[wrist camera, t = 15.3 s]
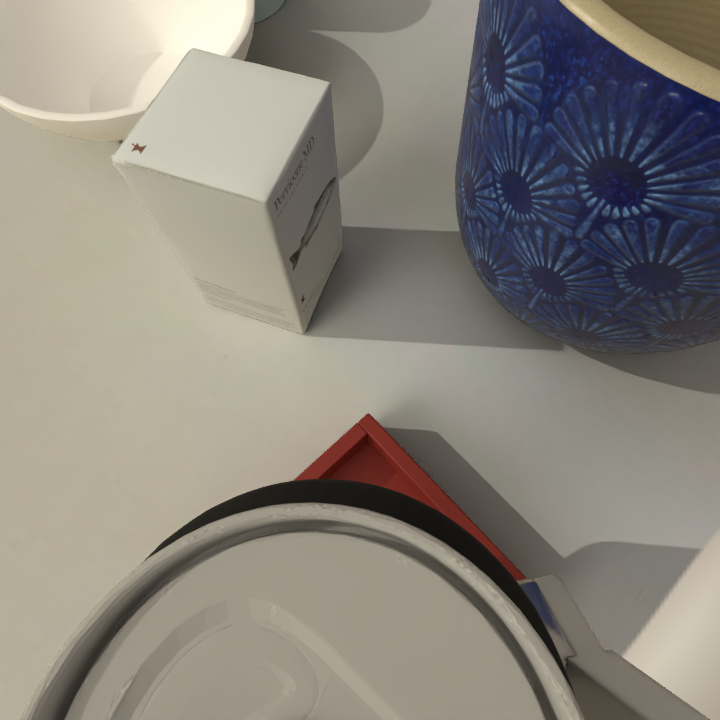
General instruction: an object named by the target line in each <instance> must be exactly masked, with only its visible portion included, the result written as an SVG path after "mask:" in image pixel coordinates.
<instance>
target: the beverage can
mask: <svg viewBox="0 0 720 720" xmlns="http://www.w3.org/2000/svg"><path fill="white" fill-rule="evenodd" d="M20 720H585V719H584V717H583V715H582V712H581V710H580V708H579V706H578V703H577V701H576V698H575V695H574V691H573V688H572V686H571V683H570V680H569V678H568V675H567V672H566V670H565V667H564V665H563V663H562V660H561V658H560V655H559V653H558V651H557V649H556V646H555V644H554V642H553V640H552V638H551V636H550V634H549V632H548V630H547V628H546V627H545V625H544V623H543V621H542V619H541V617H540V615H539V614H538V612H537V610H536V608H535V606H534V605H533V604H532V602H531V601H530V599H529V598H528V597H527V595H526V594H525V592H524V591H523V589H522V588H521V587H520V585H519V584H518V582H517V581H516V580H515V578H514V577H513V576H512V575H511V574H510V572H509V571H508V570H507V569H506V568H505V567H504V566H503V565H502V563H501V562H500V561H499V560H498V559H497V558H496V557H495V556H494V555H493V554H492V553H491V552H490V551H489V550H488V549H487V548H486V547H485V546H484V545H483V544H482V543H481V542H479V541H478V540H477V539H476V538H475V537H474V536H473V535H471V534H470V533H469V532H468V531H466V530H465V529H464V528H463V527H461V526H460V525H459V524H457V523H456V522H454V521H453V520H451V519H450V518H449V517H447V516H446V515H444V514H442V513H441V512H439V511H438V510H436V509H434V508H432V507H430V506H428V505H426V504H424V503H423V502H421V501H418V500H416V499H414V498H412V497H410V496H407V495H405V494H402V493H400V492H397V491H394V490H391V489H387V488H384V487H381V486H377V485H373V484H368V483H363V482H356V481H350V480H339V479H306V480H297V481H290V482H284V483H278V484H274V485H270V486H266V487H262V488H259V489H256V490H253V491H250V492H247V493H244V494H242V495H239V496H237V497H234V498H232V499H230V500H228V501H225V502H223V503H221V504H219V505H217V506H215V507H213V508H211V509H209V510H207V511H206V512H204V513H203V514H201V515H200V516H198V517H196V518H195V519H193V520H192V521H190V522H189V523H188V524H186V525H185V526H183V527H182V528H181V529H179V530H178V531H177V532H175V533H174V534H173V535H171V536H170V537H169V538H167V539H166V540H165V541H164V542H162V543H161V544H160V545H159V546H158V547H157V548H156V549H155V550H154V551H153V552H152V553H151V554H150V555H149V556H148V557H147V558H146V559H145V561H144V562H143V563H142V564H141V565H140V566H138V567H137V568H136V569H135V570H134V571H133V572H132V573H130V574H129V575H128V576H127V577H126V578H125V579H124V580H123V581H121V582H120V583H119V584H118V585H117V586H116V587H115V588H114V589H112V590H111V591H110V592H109V593H108V594H107V595H106V596H105V597H104V598H103V599H102V600H101V601H100V602H99V603H98V604H97V605H96V607H95V608H94V609H93V610H92V611H91V612H90V613H89V614H88V615H87V617H86V618H85V619H84V620H83V621H82V623H81V624H80V625H79V626H78V628H77V629H76V630H75V631H74V633H73V634H72V635H71V636H70V638H69V639H68V640H67V641H66V643H65V644H64V645H63V647H62V648H61V650H60V651H59V653H58V654H57V656H56V657H55V659H54V660H53V662H52V663H51V665H50V666H49V668H48V669H47V671H46V672H45V674H44V676H43V678H42V679H41V681H40V683H39V684H38V686H37V688H36V689H35V691H34V693H33V694H32V696H31V698H30V700H29V702H28V704H27V706H26V708H25V711H24V713H23V715H22V717H21V719H20Z"/></svg>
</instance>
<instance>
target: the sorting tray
mask: <svg viewBox="0 0 720 720" xmlns="http://www.w3.org/2000/svg"><path fill="white" fill-rule="evenodd" d="M306 479H339V480H350V481H356V482H363V483H368V484H373V485H377V486H381V487H384V488H387V489H391V490H394V491H397V492H400V493H402V494H405V495H407V496H410V497H412V498H414V499H416V500H418V501H421V502H423V503H424V504H426V505H428V506H430V507H432V508H434V509H436V510H438V511H439V512H441V513H442V514H444V515H446V516H447V517H449V518H450V519H451V520H453V521H454V522H456V523H457V524H459V525H460V526H461V527H463V528H464V529H465V530H466V531H468V532H469V533H470V534H471V535H473V536H474V537H475V538H476V539H477V540H478V541H479V542H481V543H482V544H483V545H484V546H485V547H486V548H487V549H488V550H489V551H490V552H491V553H492V554H493V555H494V556H495V557H496V558H497V559H498V560H499V561H500V562H501V563H502V565H503V566H504V567H505V568H506V569H507V570H508V571H509V572H510V574H511V575H512V576H513V577H514V578H515V580H516V581H519V580H524V579H527V578H526V577H525V576H524V575H523V574H522V573H521V572H520V571H519V570H518V569H517V568H516V566H515V565H514V564H513V563H512V562H511V561H510V560H509V559H508V558H507V557H506V556H505V555H504V554H503V553H502V552H501V551H500V550H499V549H498V548H497V547H496V546H495V545H494V543H493V542H492V541H491V540H490V539H489V538H488V537H487V536H486V535H485V534H484V533H483V532H482V531H481V530H480V529H479V528H478V527H477V526H476V525H475V524H474V523H473V522H472V520H471V519H470V518H469V517H468V516H467V515H466V514H465V513H464V512H463V511H462V510H461V509H460V508H459V507H458V506H457V505H456V504H455V503H454V502H453V501H452V500H451V499H450V497H449V496H448V495H447V494H446V493H445V492H444V491H443V490H442V489H441V488H440V487H439V486H438V485H437V484H436V483H435V482H434V481H433V480H432V479H431V478H430V477H429V476H428V474H427V473H426V472H425V471H424V470H423V469H422V468H421V467H420V466H419V465H418V464H417V463H416V462H415V461H414V460H413V459H412V458H411V457H410V456H409V455H408V454H407V453H406V451H405V450H404V449H403V448H402V447H401V446H400V445H399V444H398V443H397V442H396V441H395V440H394V439H393V438H392V437H391V436H390V435H389V434H388V433H387V432H386V431H385V430H384V428H383V427H382V426H381V425H380V424H379V423H378V422H377V421H376V420H375V419H374V418H373V417H372V416H371V415H370V414H366V415H365V416H364V417H363V418H362V419H361V420H360V421H359V422H358V423H356V424H355V425H354V426H353V427H352V428H351V429H350V430H349V431H348V432H346V433H345V434H344V435H343V436H342V437H341V438H340V439H339V440H338V441H337V442H335V443H334V444H333V445H332V446H331V447H330V448H329V449H328V450H327V451H326V452H324V453H323V454H322V455H321V456H320V457H319V458H318V459H317V460H316V461H315V462H313V463H312V464H311V465H310V466H309V467H308V468H307V469H306V470H305V471H304V472H302V473H301V474H300V475H299V476H298V477H297V478H296V479H295V480H294V481H297V480H306Z"/></svg>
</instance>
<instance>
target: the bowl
mask: <svg viewBox="0 0 720 720" xmlns="http://www.w3.org/2000/svg"><path fill="white" fill-rule="evenodd" d="M254 14H255V0H0V107H2V108H3V109H5V110H6V111H8V112H10V113H11V114H13V115H15V116H16V117H18V118H20V119H22V120H24V121H26V122H28V123H30V124H32V125H34V126H36V127H38V128H41V129H44V130H48V131H51V132H54V133H58V134H62V135H65V136H69V137H73V138H76V139H83V140H94V141H115V140H124V139H125V138H126V137H127V135H128V134H129V133H130V131H131V130H132V129H133V127H134V126H135V125H136V123H137V122H138V120H139V119H140V117H141V116H142V115H143V113H144V112H145V110H146V109H147V107H148V106H149V104H150V103H151V101H152V100H153V99H154V98H155V97H156V95H157V94H158V92H159V91H160V90H161V88H162V87H163V86H164V84H165V83H166V81H167V80H168V79H169V77H170V76H171V74H172V73H173V72H174V70H175V69H176V68H177V66H178V65H179V63H180V62H181V60H182V59H183V58H184V56H185V55H186V53H187V52H188V51H189V50H190V49H192V48H196V49H200V50H203V51H207V52H211V53H215V54H218V55H222V56H226V57H230V58H234V59H239V60H243V61H244V60H245V58H246V56H247V53H248V49H249V46H250V43H251V40H252V35H253V29H254Z"/></svg>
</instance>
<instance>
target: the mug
mask: <svg viewBox="0 0 720 720" xmlns="http://www.w3.org/2000/svg"><path fill="white" fill-rule="evenodd" d="M284 2H285V0H255V14H254V23H257V22H260V21H262V20H264V19H266V18H268V17H270V16H271V15H273V14H274V13H275V12H277V11H278V10H279V9H280V7H281V6H282V5H283V3H284Z"/></svg>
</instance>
